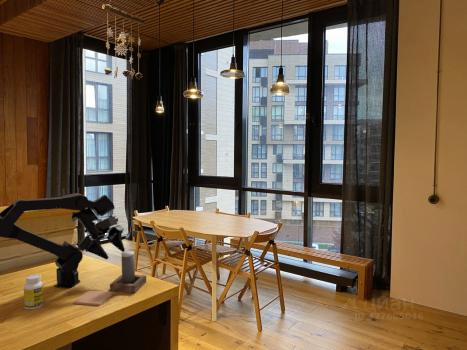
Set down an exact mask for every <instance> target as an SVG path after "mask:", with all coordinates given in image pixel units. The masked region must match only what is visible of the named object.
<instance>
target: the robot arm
mask: <svg viewBox="0 0 467 350" xmlns="http://www.w3.org/2000/svg"><path fill="white" fill-rule="evenodd" d="M57 209H58V210H59V209H61V210H62V209H63V210H70V211H73V212H72V216H71V222H76V221H77V220H78V221H79V223H81V225H82V226H83V227H84V230H83V232H84V233H85V234H86V233H88V234H89V235H86V236H84V237H83V239H82V240H81V241H80V242H79V244H78V246H77V245H75V244H74V243H72V244H71V243H69V242H67V241H66V240H64V241H63V243H58V242H55V241H53V240H50V239H48V238H46V237H43V236H41V235H38V234H37V233H34V232H31V231H29V230H27V229H24V228H22V227H21V226H19V225H17V224H16V223H17V221H18V220H19V219H20V218H21V216H22V215H23V214H24V213H26V212H31V211H32V212H33V211H44V210H45V211H47V210H57ZM115 209H116V207H115V205H114V203H113V202H112V200H111V199H110V198H109V197H108V195H106V194H103V195H101V196H100V197H99V198H97V199H96V200H90V199H89V198H88V197H87V196H86V195H84V194H81V193H78V192H75V193H71V194H66V195H63V196H59V197H46V198H45V197H44V198H28V199H27V198H25V199H22V198H17V199H15V200H14V201H13V202H12V203H11V204H10V205H8V206H7V207H6V208H5V209H3V210H2V211H1V212H0V238H5V239H10V240H11V239H12V240H17V241H20V242H22V243H24V244H27V245H30V246H32V247H35V248H37V249H40V250H43V251H45V252H48V253H50V254H52V255H55V256H56V257H58V258H56V260H55V261H54V264H55V266H56V267H57V268H56V284H55V285H54V286H53V287H54V288H65V289H70V288H73V287H74V286H76V285H77V284H78V283H80V282H81V280H80V279H79V271H78V268H79V265H80V263H81V262H82V261H83V258H84V255H83V252H84V251H85V252H86V253H87V252H88V253H90V254H94V255H96V256H99V257H100V258H102V259H104V260H108V259H109V254H108V253H107V252H106V251H105V249H104V248H103V246H102V245H101V244H102V243H101V241H102V240H105V239H107V240H108V241H109V243H111V244H112V246H114V247H115V248H117V249H118V250H119V251H120V252H121V253H122V252H125V251H126V248H125V246H124V243H123V239H122V234H123V233H124V230H125V229H124V227H123V226H122V225H121V224H118V223H119V218H118V216H117V215H116V214H111V215H108V218H104V219H103V218H102V217H104V216H106V215H107V214H108V213H111V212H112V211H113V210H115ZM74 211H76V212H74ZM99 216H100V217H101V218H98V217H99Z"/></svg>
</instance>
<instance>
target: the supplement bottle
mask: <svg viewBox="0 0 467 350" xmlns="http://www.w3.org/2000/svg"><path fill="white" fill-rule="evenodd" d="M25 281H26V283H25V284H24V285H23V304H24V309H26V310H36V309H39V308H42V307H43V306H44V304H45V301H44V300H45V298H44V297H45V295H44V294H45V293H44V282H43V281H42V280H41V274H37V273H34V274H30V275H27V276H26V277H25Z"/></svg>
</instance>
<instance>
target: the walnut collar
mask: <svg viewBox="0 0 467 350" xmlns="http://www.w3.org/2000/svg"><path fill="white" fill-rule="evenodd" d="M146 283H147V275H141V274H135V283H134V284H126V283H122V274H121V275H119V276H118V277H117V278H116V279H115V280H113V281H112V282H111V283H110V284H109V292H119V293H130V294H131V293H133V294H137V292H138V291H139V290H140V289H142V287H143V286H144V285H145V284H146Z"/></svg>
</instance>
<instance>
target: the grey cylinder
mask: <svg viewBox="0 0 467 350" xmlns="http://www.w3.org/2000/svg"><path fill="white" fill-rule="evenodd" d="M135 263H136V262H135V251H133V250H125V251H124V252H122V251H121V275H122V283H126V284H134V283H135V275H136V268H135V267H136V266H135V265H136V264H135Z"/></svg>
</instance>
